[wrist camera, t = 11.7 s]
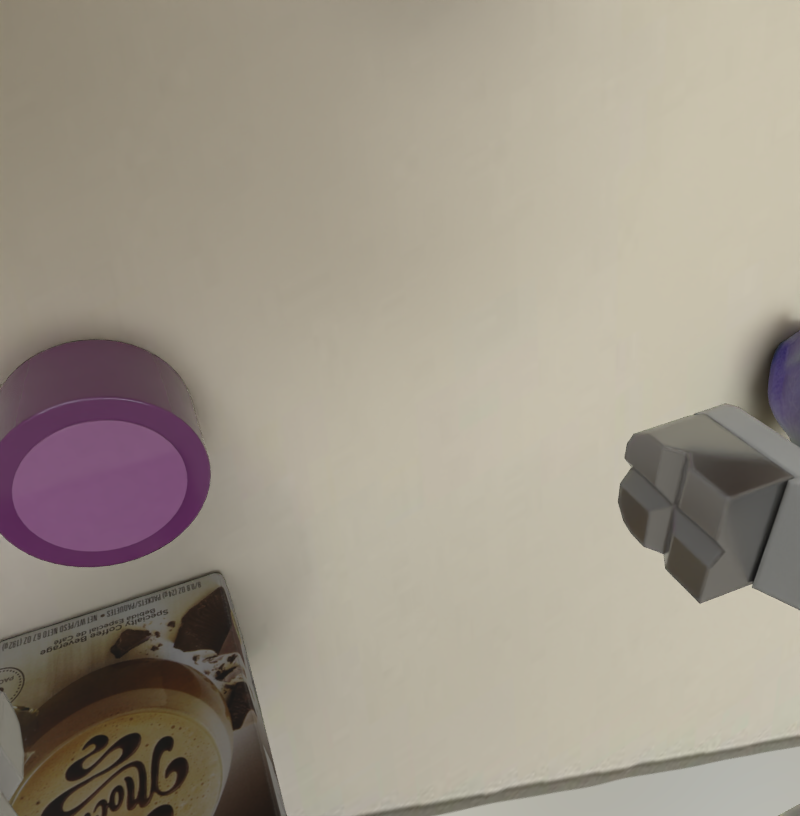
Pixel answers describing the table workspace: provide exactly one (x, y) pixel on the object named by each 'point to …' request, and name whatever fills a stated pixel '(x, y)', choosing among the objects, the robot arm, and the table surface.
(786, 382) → the flower
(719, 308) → the table surface
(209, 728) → the coffee box
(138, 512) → the dish middle
